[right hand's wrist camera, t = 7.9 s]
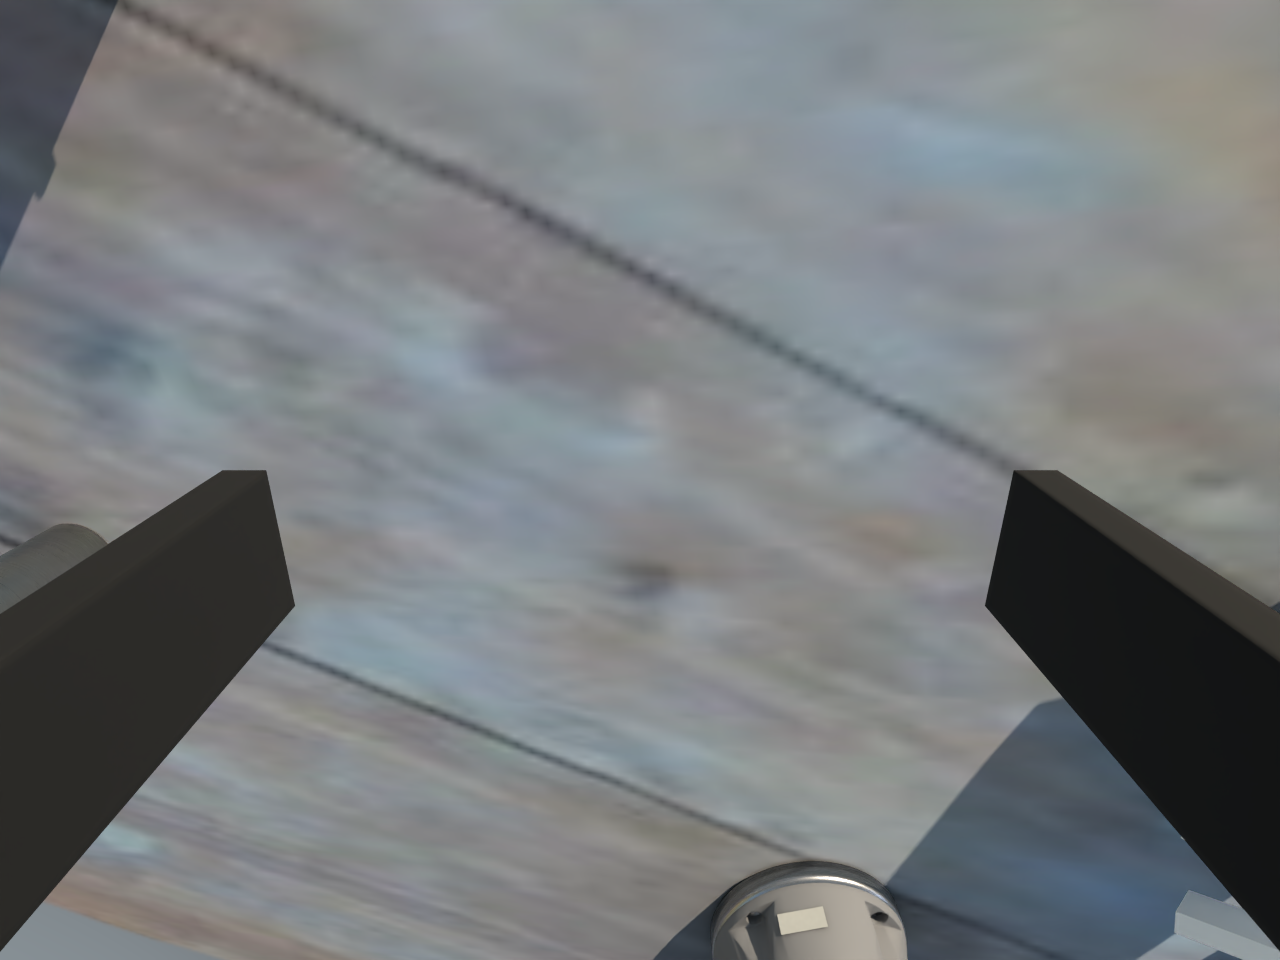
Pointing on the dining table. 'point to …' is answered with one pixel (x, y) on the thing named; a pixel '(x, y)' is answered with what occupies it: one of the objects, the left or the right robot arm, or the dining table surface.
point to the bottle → (44, 560)
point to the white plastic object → (1222, 928)
